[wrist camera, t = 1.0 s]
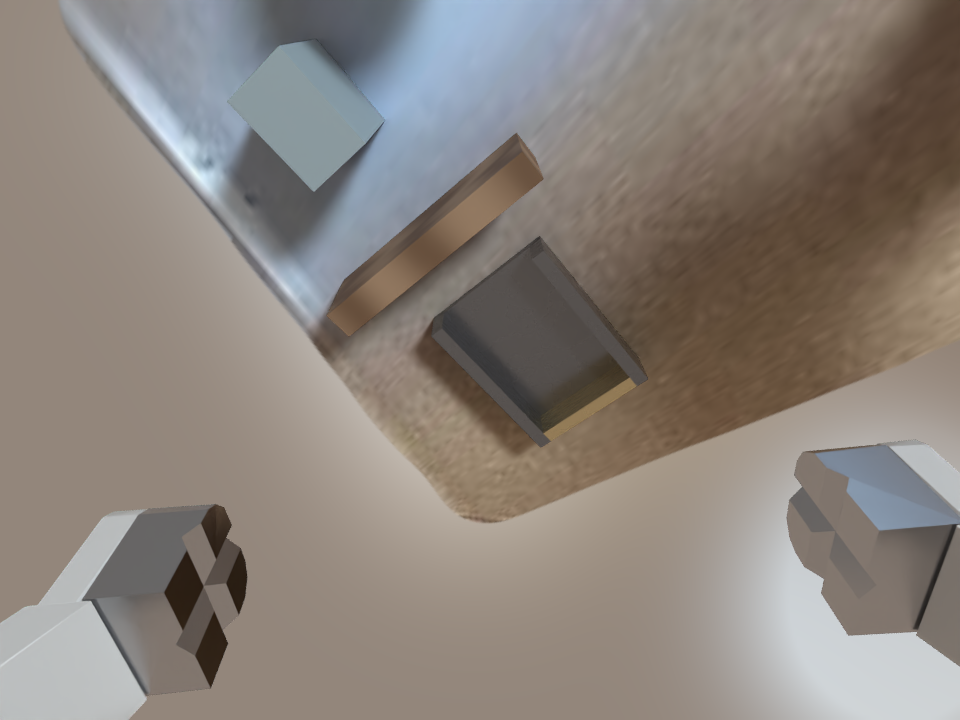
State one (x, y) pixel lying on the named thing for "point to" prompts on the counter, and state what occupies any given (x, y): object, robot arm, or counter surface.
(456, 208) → the brown wooden board
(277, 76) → the block
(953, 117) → the counter surface
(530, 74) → the counter surface
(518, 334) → the keeper
